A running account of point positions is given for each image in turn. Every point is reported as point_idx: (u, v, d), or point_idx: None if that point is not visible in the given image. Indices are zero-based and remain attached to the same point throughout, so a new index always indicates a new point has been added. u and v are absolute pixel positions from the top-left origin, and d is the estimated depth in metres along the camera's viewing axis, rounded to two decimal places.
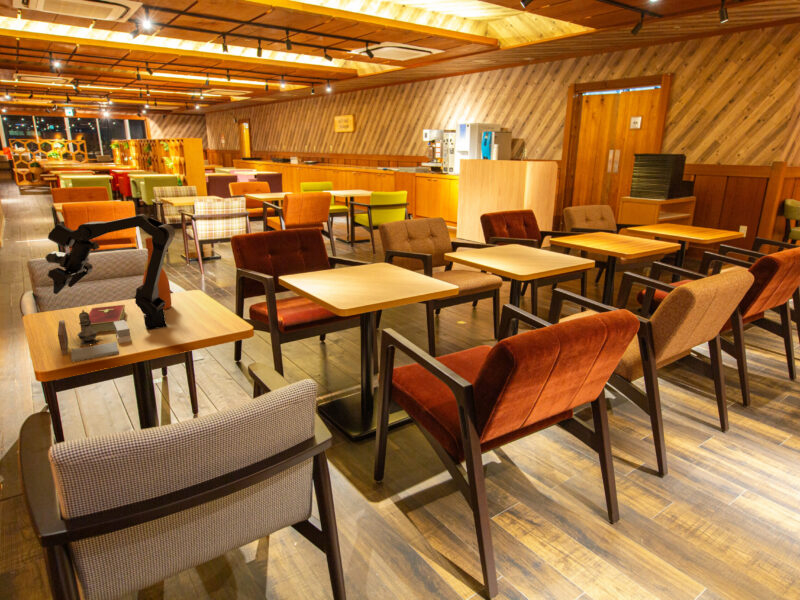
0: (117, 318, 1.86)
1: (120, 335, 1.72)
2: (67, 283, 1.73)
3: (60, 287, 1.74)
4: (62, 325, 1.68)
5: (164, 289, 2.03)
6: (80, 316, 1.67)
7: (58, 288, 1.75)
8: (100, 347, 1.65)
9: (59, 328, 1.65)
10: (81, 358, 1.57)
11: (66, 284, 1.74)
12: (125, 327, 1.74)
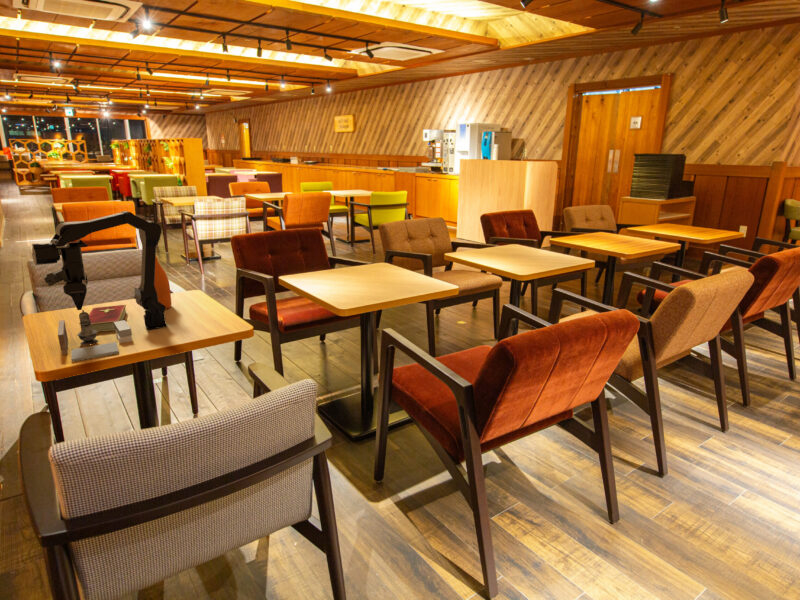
0: (117, 318, 1.85)
1: (122, 335, 1.72)
2: (86, 290, 1.62)
3: (82, 299, 1.63)
4: (62, 325, 1.68)
5: (164, 289, 2.03)
6: (80, 316, 1.67)
7: (80, 302, 1.63)
8: (100, 347, 1.65)
9: (59, 328, 1.65)
10: (81, 358, 1.57)
11: (86, 292, 1.62)
12: (126, 327, 1.74)
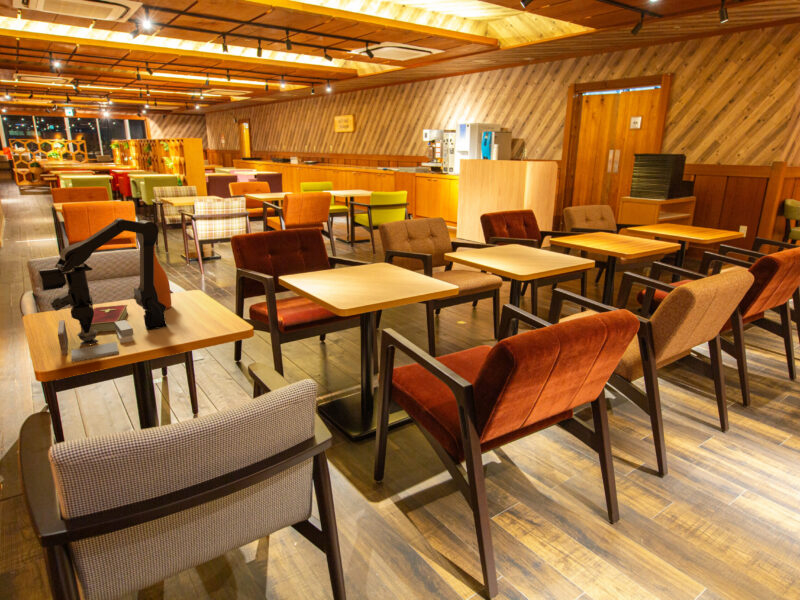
0: (116, 318, 1.85)
1: (124, 335, 1.72)
2: (93, 314, 1.64)
3: (89, 322, 1.65)
4: (62, 325, 1.68)
5: (164, 289, 2.03)
6: None
7: (87, 325, 1.65)
8: (100, 347, 1.65)
9: (59, 328, 1.65)
10: (81, 358, 1.57)
11: (93, 315, 1.64)
12: (128, 327, 1.74)
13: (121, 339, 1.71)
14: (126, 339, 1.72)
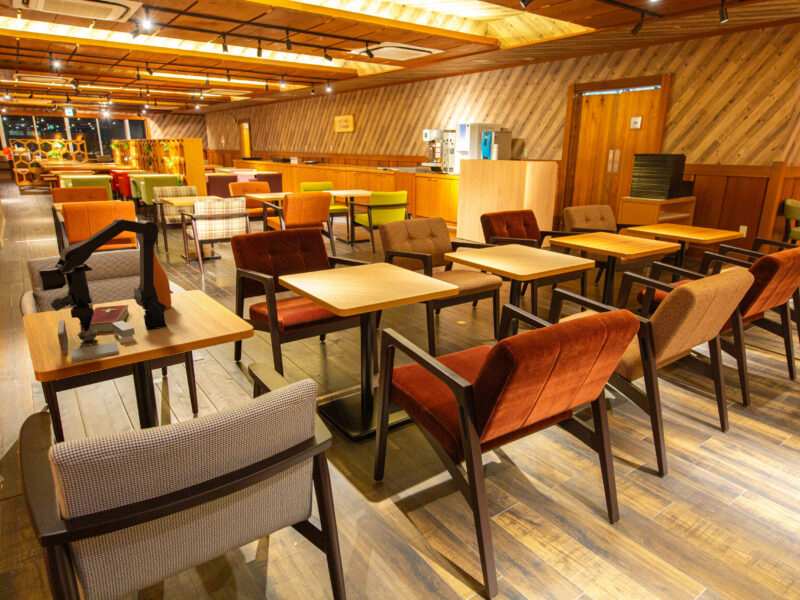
0: (115, 318, 1.85)
1: (125, 335, 1.72)
2: None
3: (88, 320, 1.67)
4: (62, 325, 1.68)
5: (164, 289, 2.03)
6: None
7: (87, 323, 1.67)
8: (100, 347, 1.65)
9: (59, 328, 1.65)
10: (81, 358, 1.57)
11: None
12: (128, 327, 1.74)
13: (121, 339, 1.71)
14: (126, 339, 1.72)
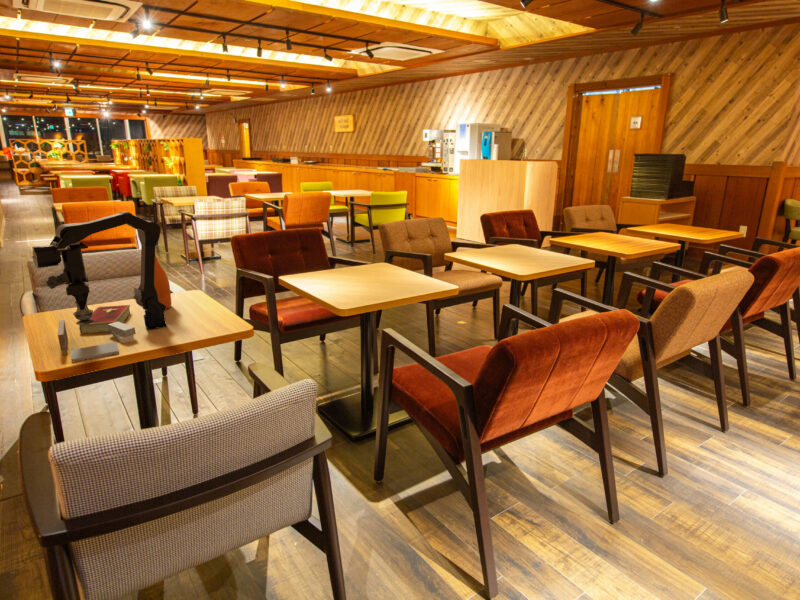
0: (115, 319, 1.85)
1: (127, 335, 1.72)
2: None
3: (84, 299, 1.65)
4: (62, 325, 1.68)
5: (164, 289, 2.03)
6: None
7: (83, 301, 1.65)
8: (100, 347, 1.65)
9: (59, 328, 1.65)
10: (81, 358, 1.57)
11: (88, 292, 1.64)
12: (129, 327, 1.74)
13: (122, 339, 1.71)
14: (127, 339, 1.72)
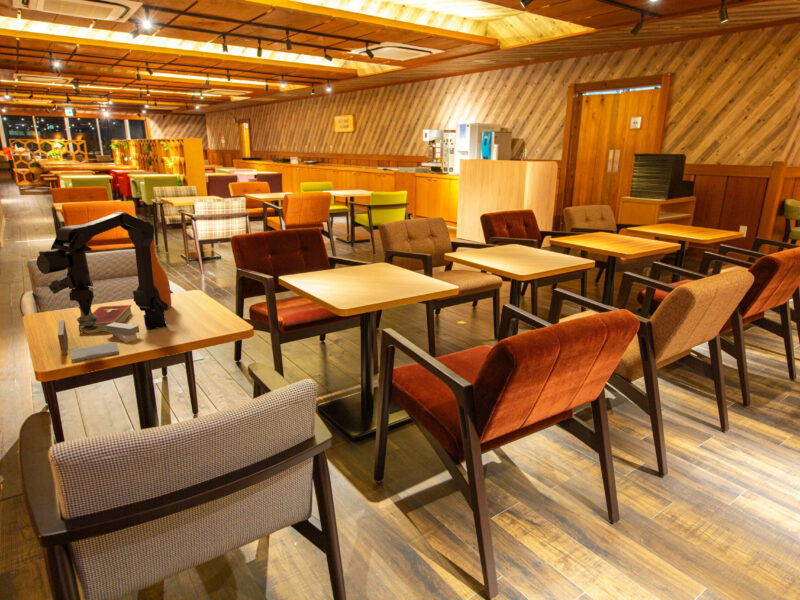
0: (114, 319, 1.84)
1: (132, 333, 1.74)
2: None
3: (88, 304, 1.58)
4: (62, 325, 1.68)
5: (164, 289, 2.03)
6: None
7: (87, 307, 1.58)
8: (100, 347, 1.65)
9: (59, 328, 1.65)
10: (81, 358, 1.57)
11: None
12: (131, 325, 1.75)
13: (126, 338, 1.72)
14: (130, 338, 1.73)
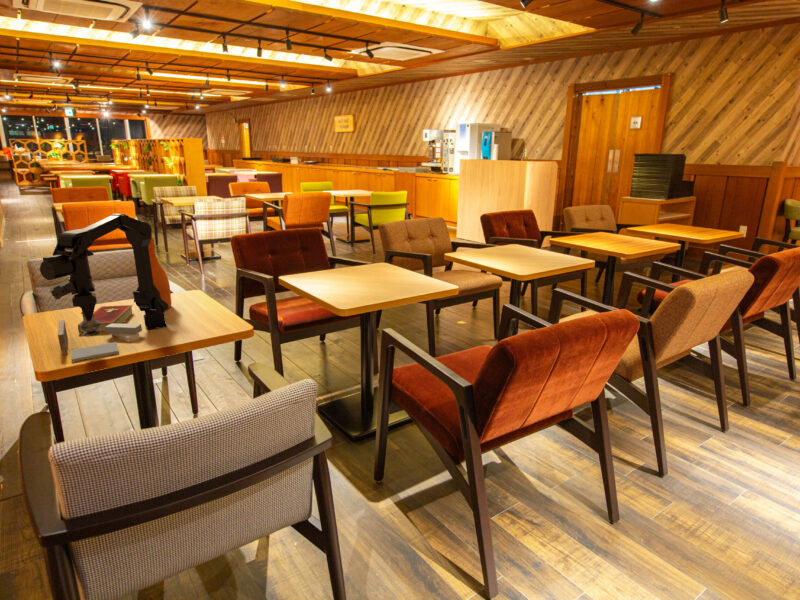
0: (113, 319, 1.84)
1: (137, 332, 1.75)
2: None
3: (91, 310, 1.56)
4: (62, 325, 1.68)
5: (164, 289, 2.03)
6: None
7: (90, 312, 1.57)
8: (100, 347, 1.65)
9: (59, 328, 1.65)
10: (81, 358, 1.57)
11: None
12: (134, 325, 1.76)
13: (128, 338, 1.72)
14: (133, 338, 1.74)
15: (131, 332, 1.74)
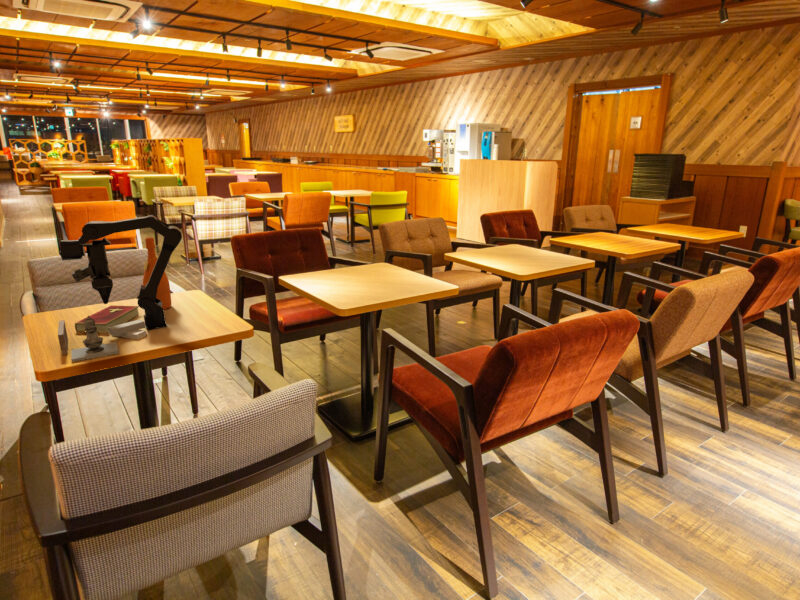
0: (109, 320, 1.83)
1: None
2: (112, 285, 1.72)
3: (108, 293, 1.73)
4: (62, 325, 1.68)
5: (164, 289, 2.03)
6: (85, 322, 1.59)
7: (106, 296, 1.73)
8: None
9: (59, 328, 1.65)
10: (81, 358, 1.57)
11: None
12: (135, 321, 1.80)
13: (137, 335, 1.75)
14: (141, 335, 1.76)
15: (140, 327, 1.79)
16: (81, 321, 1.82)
